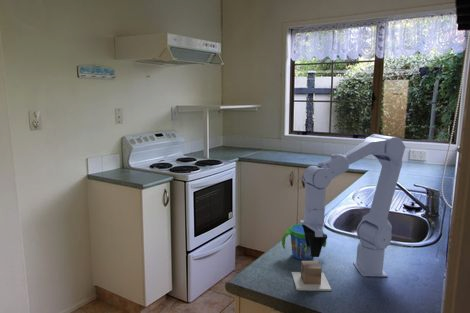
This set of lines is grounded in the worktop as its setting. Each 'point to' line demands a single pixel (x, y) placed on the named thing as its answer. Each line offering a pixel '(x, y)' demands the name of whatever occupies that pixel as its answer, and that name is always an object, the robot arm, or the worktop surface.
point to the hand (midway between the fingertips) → (312, 251)
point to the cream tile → (311, 287)
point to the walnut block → (311, 272)
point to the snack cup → (298, 242)
